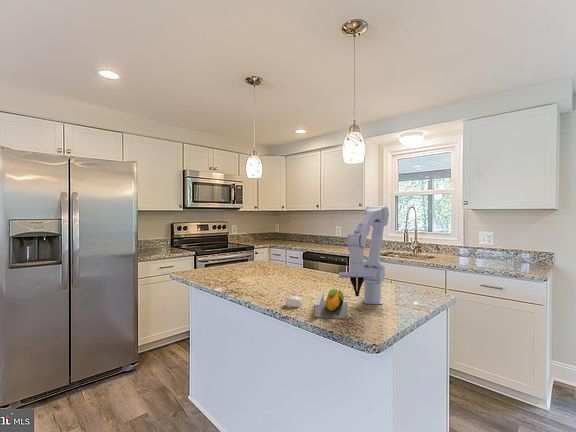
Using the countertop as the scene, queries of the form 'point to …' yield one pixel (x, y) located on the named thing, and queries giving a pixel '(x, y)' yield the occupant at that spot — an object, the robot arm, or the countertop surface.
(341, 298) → the toy fruit
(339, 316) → the bracket
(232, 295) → the countertop surface
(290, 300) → the white glossy round part
